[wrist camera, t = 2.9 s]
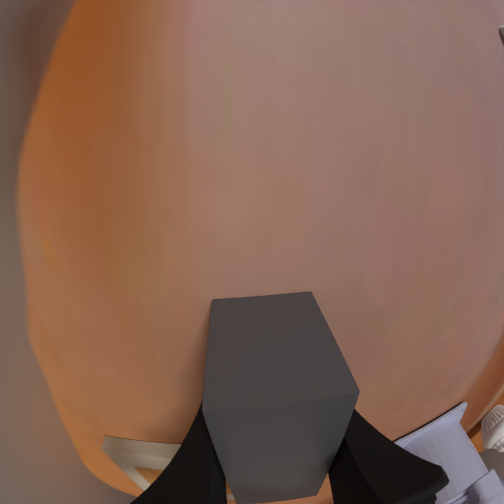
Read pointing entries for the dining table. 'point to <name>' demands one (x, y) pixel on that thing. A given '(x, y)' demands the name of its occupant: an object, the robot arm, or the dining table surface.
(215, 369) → the block
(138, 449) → the board
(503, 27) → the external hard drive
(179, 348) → the dining table surface
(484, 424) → the muffin
